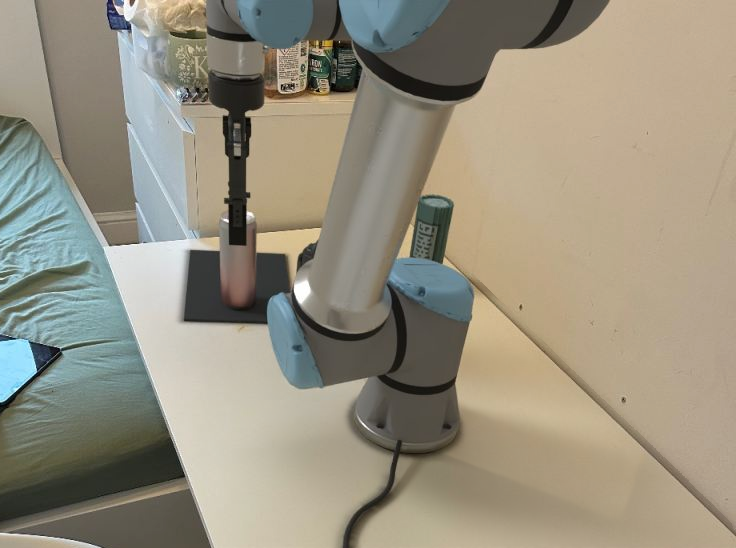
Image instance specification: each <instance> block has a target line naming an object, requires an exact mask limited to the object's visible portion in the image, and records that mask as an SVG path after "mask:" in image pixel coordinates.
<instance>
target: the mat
mask: <svg viewBox="0 0 736 548" xmlns="http://www.w3.org/2000/svg"><path fill="white" fill-rule="evenodd" d="M288 278H289V277H288V269H287V259H286V254H285V253H276V252H275V253H272V252H256V301H255V303H254V305H253V306H252V307H250V308H248V309H244V310H235V309H231V308H228V307H227V306H225V305H224V304H223V302H222V300H221V280H220V250H203V249H190V250H189V261H188V271H187V281H186V293H185V301H184V302H185V303H184V314H183V321H184V322H208V323H209V322H210V323H211V322H214V323H243V324H244V323H246V324H268V320H267V307H268V302H269V300H270V298H271V297H273V296H275V295H279V293H282V292H283V293H284V294H286V293H290V285H289V279H288Z"/></svg>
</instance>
